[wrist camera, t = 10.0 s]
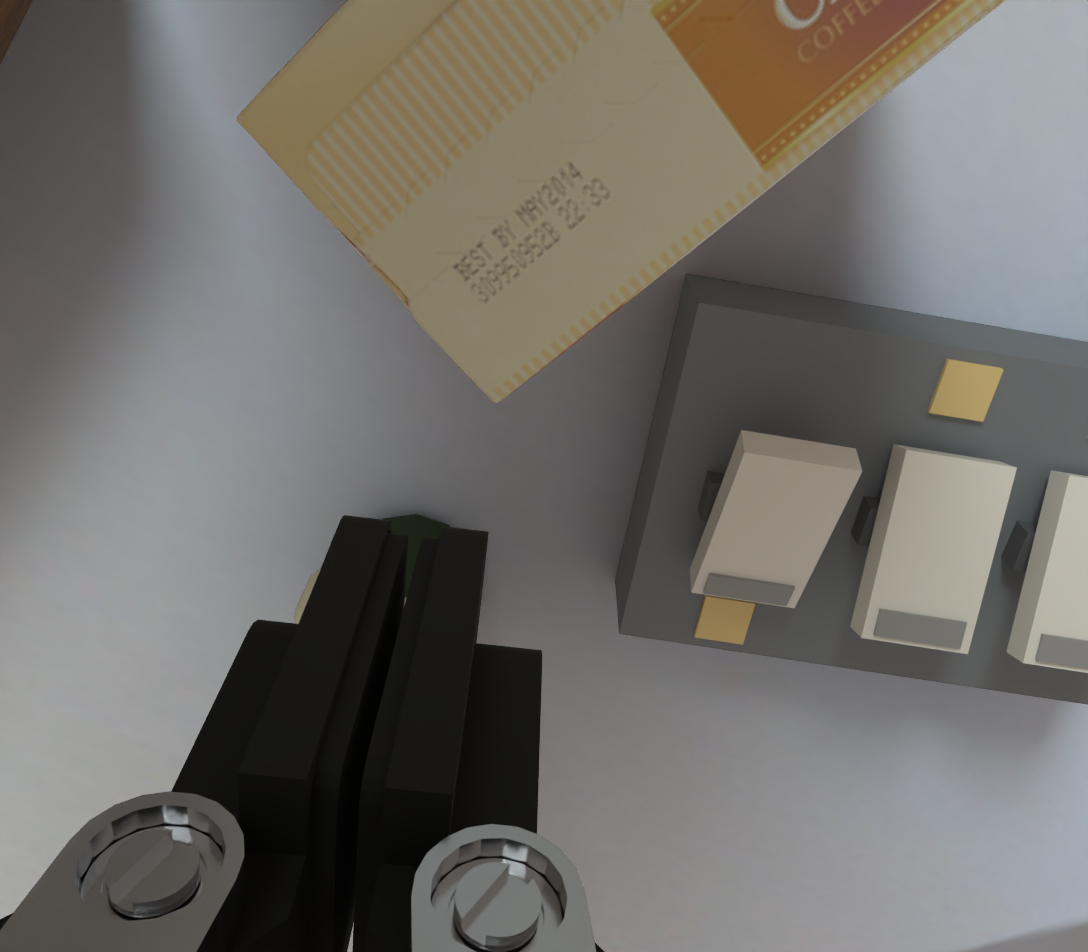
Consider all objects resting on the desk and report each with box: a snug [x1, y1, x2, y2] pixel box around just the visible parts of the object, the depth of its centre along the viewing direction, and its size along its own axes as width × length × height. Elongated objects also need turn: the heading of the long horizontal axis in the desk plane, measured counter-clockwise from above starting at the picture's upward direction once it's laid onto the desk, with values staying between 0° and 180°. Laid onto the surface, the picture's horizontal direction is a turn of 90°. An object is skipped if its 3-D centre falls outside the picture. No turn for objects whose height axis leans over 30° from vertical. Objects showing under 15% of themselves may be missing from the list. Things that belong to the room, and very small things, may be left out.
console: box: [615, 274, 1088, 704], centre depth 38 cm, size 14×20×5 cm
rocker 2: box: [850, 444, 1017, 654], centre depth 34 cm, size 7×4×1 cm, turn 171°
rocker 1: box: [690, 430, 862, 608], centre depth 34 cm, size 7×4×1 cm, turn 170°
